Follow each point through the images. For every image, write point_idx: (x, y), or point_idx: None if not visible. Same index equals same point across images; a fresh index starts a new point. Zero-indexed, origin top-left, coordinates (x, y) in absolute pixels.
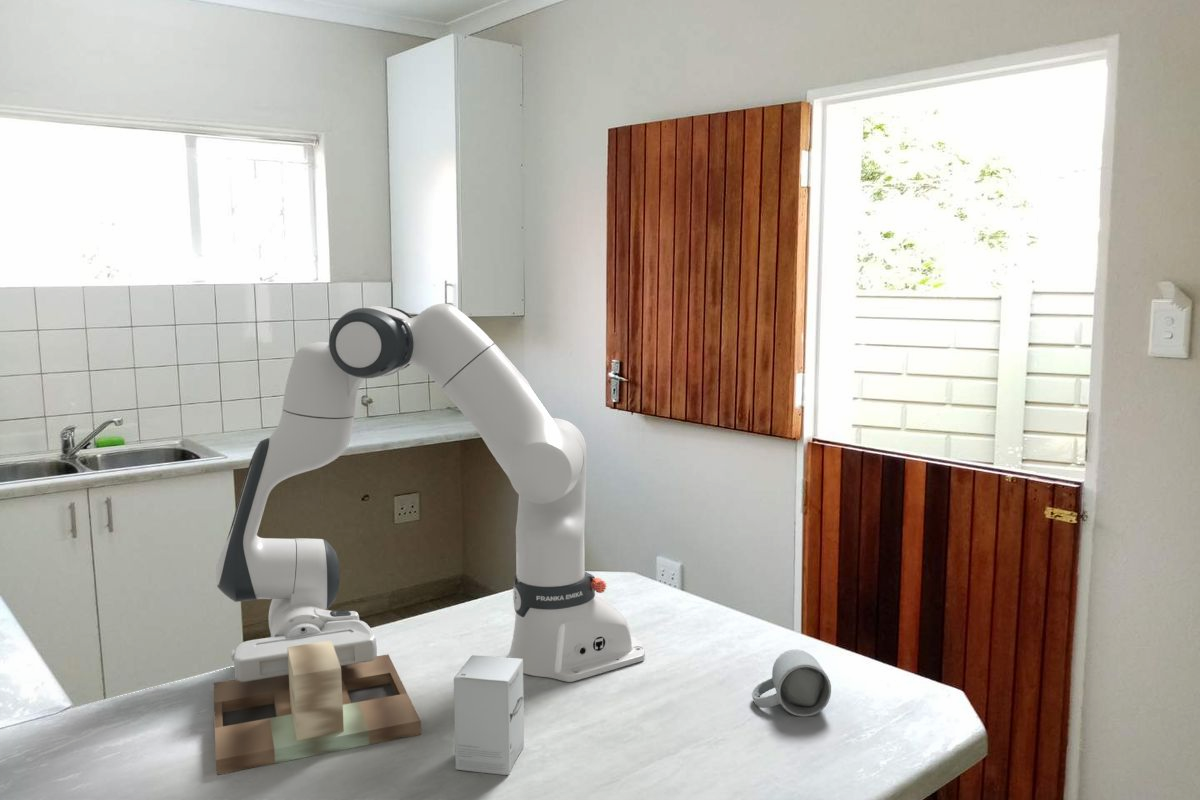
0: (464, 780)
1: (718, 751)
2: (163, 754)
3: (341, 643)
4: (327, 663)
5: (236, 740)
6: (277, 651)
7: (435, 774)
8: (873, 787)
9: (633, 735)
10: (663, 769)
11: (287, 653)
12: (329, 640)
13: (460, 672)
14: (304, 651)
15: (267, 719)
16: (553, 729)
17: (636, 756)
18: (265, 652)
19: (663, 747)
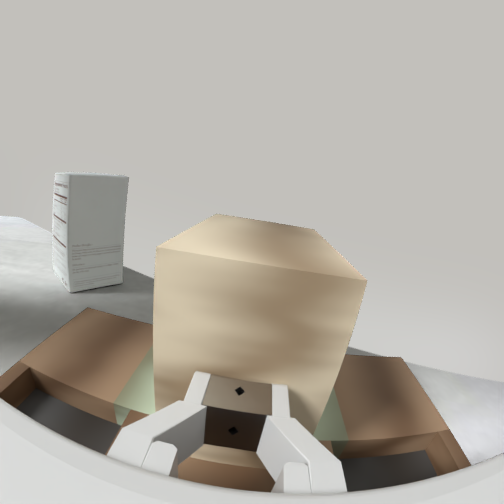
0: (129, 276)
1: (9, 234)
2: (487, 429)
3: (4, 406)
4: (236, 221)
5: (392, 388)
6: (440, 498)
7: (141, 288)
8: (20, 218)
9: (4, 250)
10: (39, 239)
11: (372, 491)
12: (11, 493)
13: (116, 175)
14: (290, 250)
15: (353, 435)
16: (12, 271)
17: (30, 245)
18: (494, 488)
19: (14, 242)
